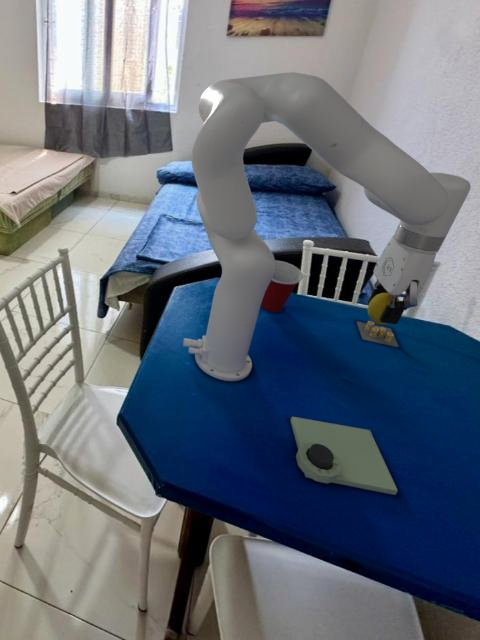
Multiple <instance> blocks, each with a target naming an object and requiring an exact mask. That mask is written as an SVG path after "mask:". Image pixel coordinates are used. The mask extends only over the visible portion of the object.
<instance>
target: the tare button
mask: <svg viewBox="0 0 480 640" xmlns="http://www.w3.org/2000/svg"><path fill="white" fill-rule="evenodd" d="M308 459H309V461H310V462H311V463H312V464H313V465H314V466H316V467H317V468H320V469H328V468H330V466H331V464H332V462H333V460H334V456H333V453H332V452H331V451H330V449H328V448H327V447H326V446H324V445H321V444H313V445H312V446H311V448H310V450H309V452H308Z"/></svg>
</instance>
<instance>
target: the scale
mask: <svg viewBox="0 0 480 640" xmlns="http://www.w3.org/2000/svg"><path fill="white" fill-rule="evenodd" d="M290 424H291V428H292V431H293V432H292V433H293V435H294V439H295V442H296V448H297V452H296V455H295V459H296V463H297V466H298V468H299V469H300V470H301V471H302V473H304V477H305V478H306V479H307V478H308V479H311V480H313V481H315V482H319V483H322V484H327V485H328V484H330V483H332V484H337V485H343V486H347V487H352V488H356V489H357V488H358V489H362V490H368V491H374V492H378V493H382V494H389V495H392V496H393V495H394V496H396V495H397V493H398V487H397V485H396V484H395V482H394V479H393V477H392V475H391V473H390V471H389V469H388V466H387V464H386V462H385V459H384V458H383V456H382V453H381V451H380V448H379V447H378V445H377V443H376V441H375V439H374V435H373V434H372V432H371V430H370V429H367V428H366V429H365V428H360V427H353V426H348V425H342V424H338V423H337V424H336V423H330V422H324V421H319V420H313V419H309V418H302V417H296V416H291V417H290ZM313 444H321V445H324V446H326V447H327V448H328V449H330V451H331V452H332V453H333V456H334V460H333V462H332V464H331V466H330V468H328V469H320V468H317V467H316V466H314V465H313V464H312V463H311V462H310V461H309V459H308V452H309V450H310V448H311V446H312V445H313Z"/></svg>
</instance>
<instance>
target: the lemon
mask: <svg viewBox="0 0 480 640" xmlns="http://www.w3.org/2000/svg"><path fill="white" fill-rule="evenodd" d="M391 297H392V295H391V294H389V293H380V294H378V295H376V296H375V297H374V298H373V299H372V300H371V301H370V303H369V304H368V306H367V314H368V317H369V318H370V320H371V321H372V322H373V323H374V325H389V324H390V323H383V322H381V321H380V318H381V316H382V314H383V312H384V310H385V308H386V305H390V301H391ZM398 301H400V299H399V297H398V298H397V302H398Z"/></svg>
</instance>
